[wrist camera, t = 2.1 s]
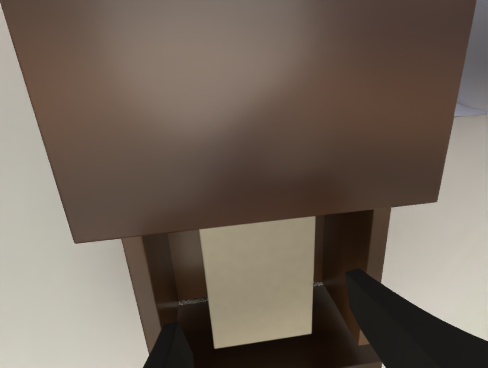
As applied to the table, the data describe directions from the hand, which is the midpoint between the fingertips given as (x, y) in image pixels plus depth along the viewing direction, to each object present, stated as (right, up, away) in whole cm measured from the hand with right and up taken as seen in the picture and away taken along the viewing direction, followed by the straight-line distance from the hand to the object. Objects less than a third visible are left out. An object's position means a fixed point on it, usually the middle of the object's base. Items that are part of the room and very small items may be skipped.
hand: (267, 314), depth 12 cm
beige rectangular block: (-1, +2, +6) cm, 6 cm away
